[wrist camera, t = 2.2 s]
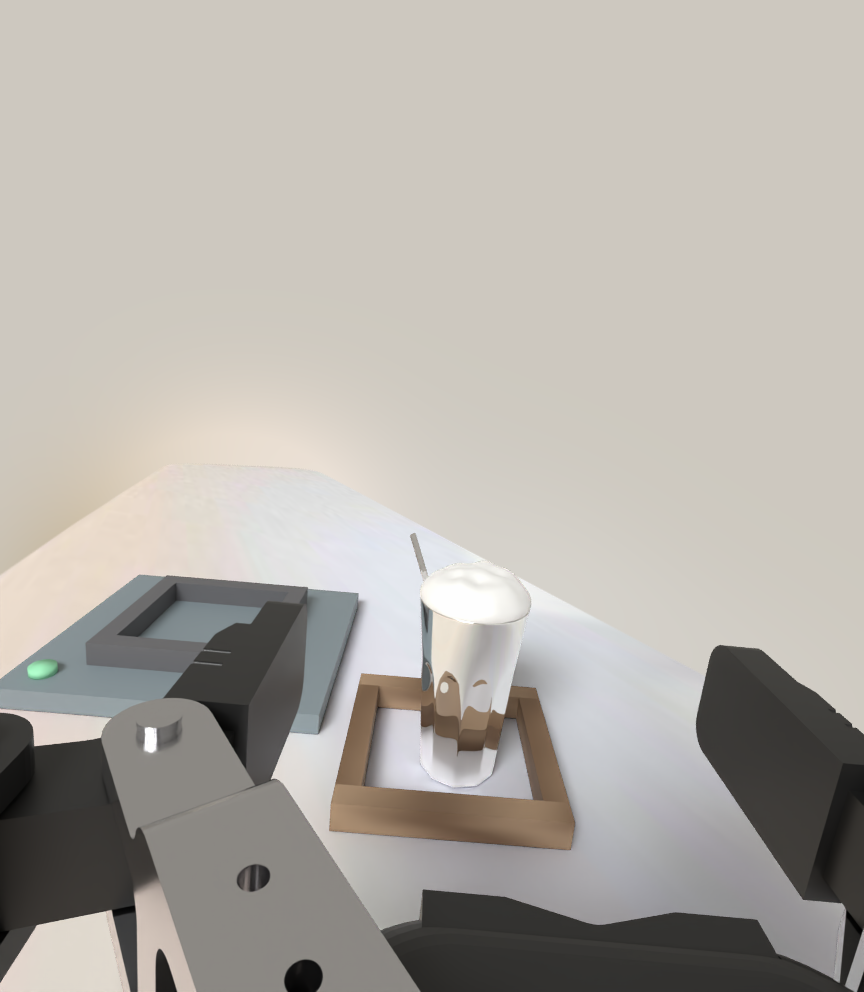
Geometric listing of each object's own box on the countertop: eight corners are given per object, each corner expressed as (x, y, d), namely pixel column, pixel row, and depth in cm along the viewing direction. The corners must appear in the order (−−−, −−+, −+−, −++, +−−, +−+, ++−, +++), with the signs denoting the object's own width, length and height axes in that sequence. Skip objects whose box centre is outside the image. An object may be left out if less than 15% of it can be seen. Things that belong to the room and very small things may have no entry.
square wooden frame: (532, 708, 31) (535, 687, 31) (570, 849, 22) (574, 823, 22) (360, 694, 31) (361, 673, 30) (329, 830, 22) (330, 803, 22)
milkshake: (416, 714, 29) (434, 521, 27) (520, 751, 27) (549, 546, 25) (370, 768, 25) (386, 547, 23) (487, 816, 23) (518, 579, 21)
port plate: (357, 606, 41) (359, 576, 40) (317, 734, 27) (319, 691, 27) (139, 588, 41) (138, 558, 40) (-10, 707, 27) (-14, 664, 27)
